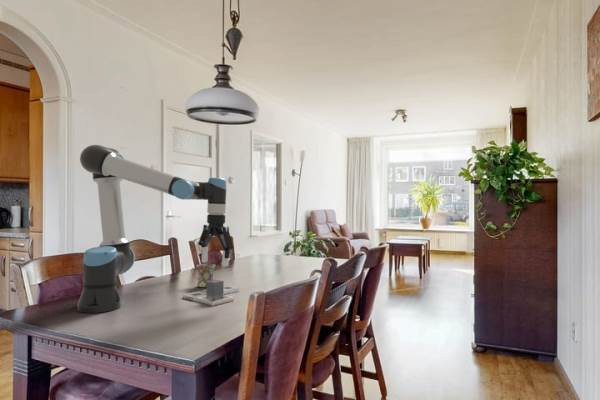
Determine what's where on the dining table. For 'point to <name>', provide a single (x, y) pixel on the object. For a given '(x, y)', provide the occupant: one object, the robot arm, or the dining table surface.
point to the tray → (224, 300)
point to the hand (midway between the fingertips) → (214, 264)
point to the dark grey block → (214, 290)
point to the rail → (203, 293)
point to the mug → (204, 274)
